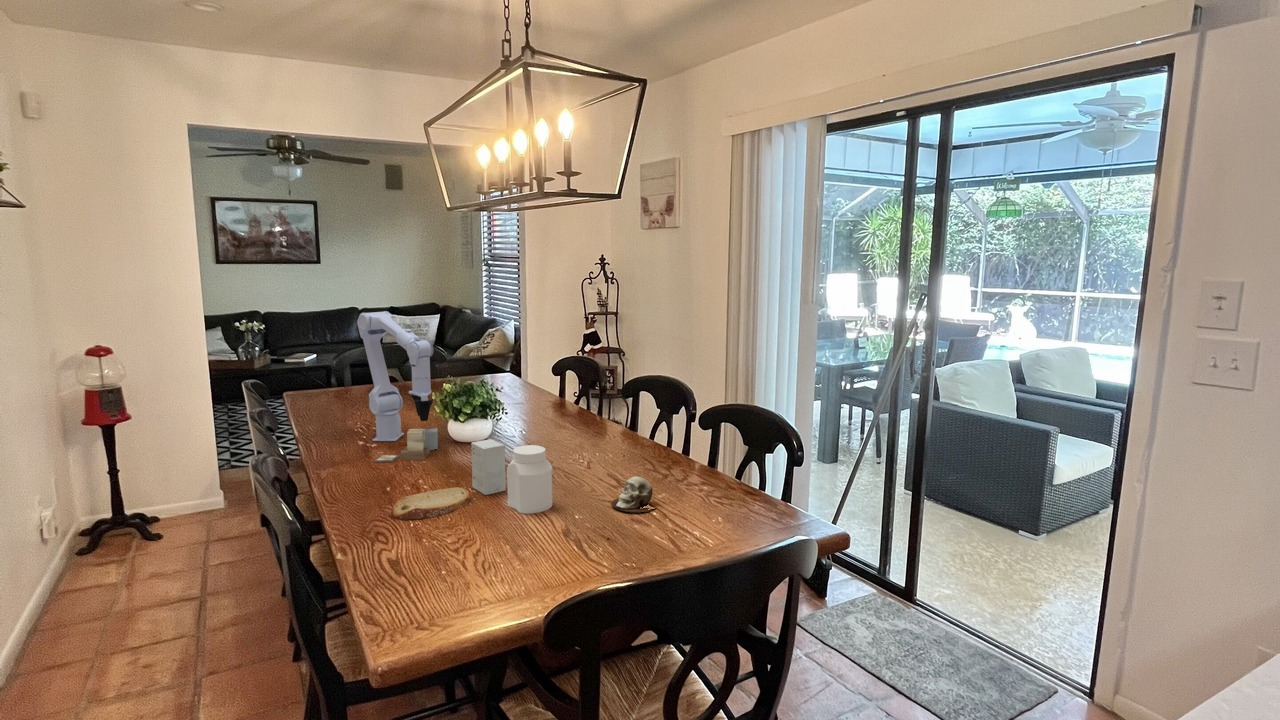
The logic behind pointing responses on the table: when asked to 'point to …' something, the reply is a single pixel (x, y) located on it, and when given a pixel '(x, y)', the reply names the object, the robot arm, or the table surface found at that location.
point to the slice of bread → (430, 504)
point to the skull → (634, 496)
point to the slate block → (431, 438)
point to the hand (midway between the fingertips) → (422, 418)
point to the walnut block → (414, 454)
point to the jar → (529, 480)
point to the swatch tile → (387, 458)
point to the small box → (488, 466)
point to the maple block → (415, 440)
